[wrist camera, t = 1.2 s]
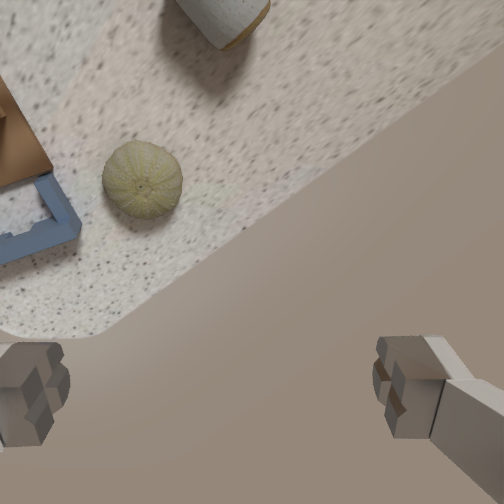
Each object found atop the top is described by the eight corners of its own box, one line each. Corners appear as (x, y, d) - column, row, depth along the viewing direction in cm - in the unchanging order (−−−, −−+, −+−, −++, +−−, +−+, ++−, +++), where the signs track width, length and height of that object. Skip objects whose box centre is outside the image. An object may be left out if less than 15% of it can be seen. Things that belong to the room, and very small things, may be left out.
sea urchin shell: (123, 232, 47) (100, 209, 40) (110, 176, 49) (85, 144, 42) (194, 212, 48) (185, 186, 41) (178, 158, 50) (167, 123, 42)
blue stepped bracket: (-59, 210, 43) (-77, 224, 40) (51, 172, 44) (43, 183, 40) (-20, 259, 47) (-33, 276, 43) (82, 223, 48) (76, 237, 44)
